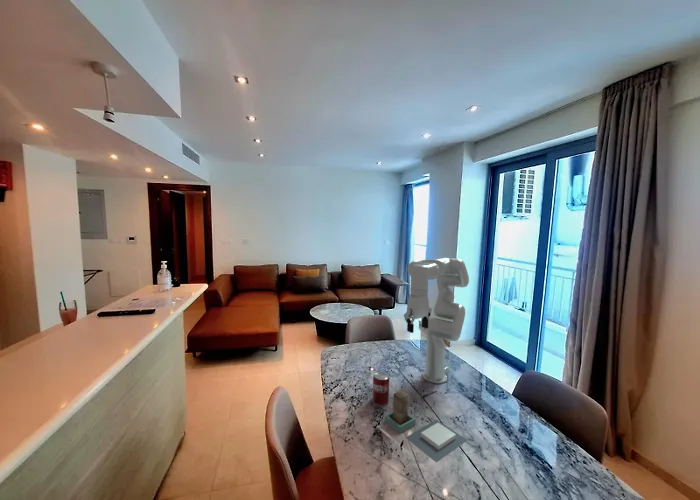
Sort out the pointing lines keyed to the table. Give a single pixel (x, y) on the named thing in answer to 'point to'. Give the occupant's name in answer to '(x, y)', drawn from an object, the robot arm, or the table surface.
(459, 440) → the mat
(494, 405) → the table surface
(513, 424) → the table surface
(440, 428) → the tile
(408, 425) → the holder
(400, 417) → the brown wooden block
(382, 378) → the soda can
